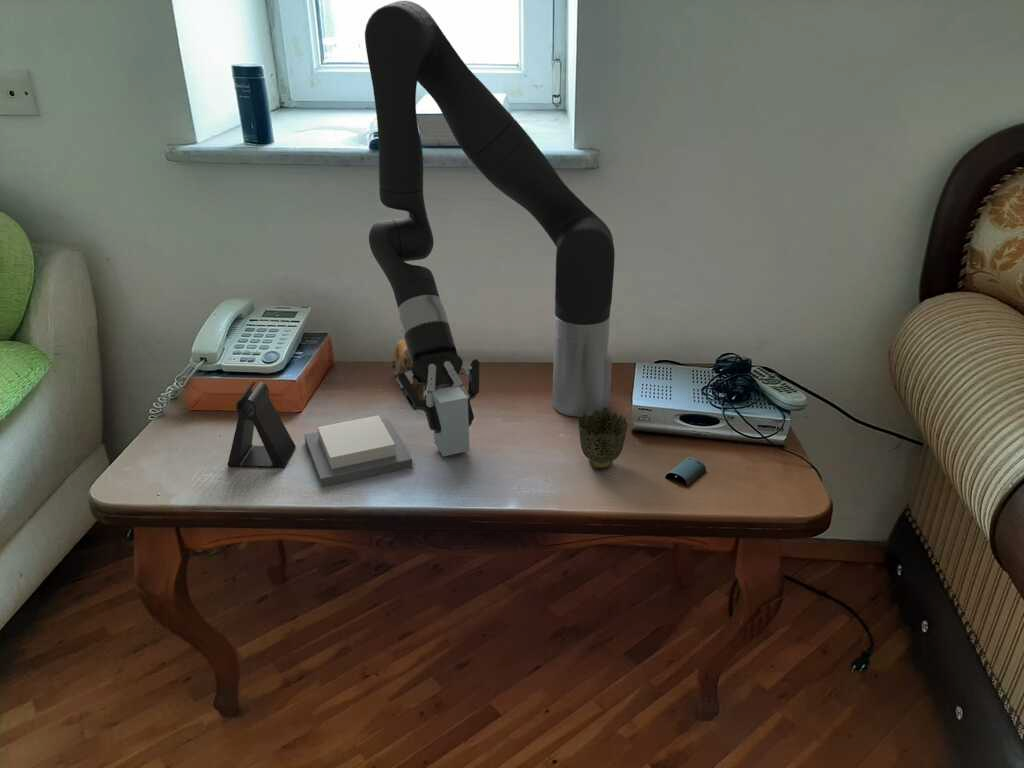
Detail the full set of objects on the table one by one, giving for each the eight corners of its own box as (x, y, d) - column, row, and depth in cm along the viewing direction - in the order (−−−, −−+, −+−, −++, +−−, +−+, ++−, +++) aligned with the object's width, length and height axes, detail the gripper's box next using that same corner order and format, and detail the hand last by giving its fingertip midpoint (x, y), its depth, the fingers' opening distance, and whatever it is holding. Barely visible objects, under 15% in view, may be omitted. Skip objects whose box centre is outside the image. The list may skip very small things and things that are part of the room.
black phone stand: (296, 448, 126) (286, 381, 121) (285, 468, 121) (274, 400, 116) (241, 447, 127) (229, 380, 121) (227, 467, 121) (214, 398, 116)
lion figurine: (441, 389, 145) (439, 345, 141) (416, 397, 142) (413, 352, 138) (404, 361, 156) (401, 319, 152) (379, 368, 153) (376, 325, 149)
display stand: (388, 425, 133) (387, 407, 131) (412, 467, 121) (411, 447, 120) (305, 442, 128) (302, 423, 126) (321, 487, 117) (319, 467, 115)
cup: (593, 483, 117) (595, 437, 114) (567, 460, 123) (569, 415, 120) (634, 471, 121) (637, 425, 117) (607, 448, 126) (610, 405, 123)
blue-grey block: (460, 437, 128) (458, 385, 124) (469, 450, 124) (467, 397, 120) (434, 443, 126) (431, 390, 122) (443, 456, 123) (440, 403, 118)
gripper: (386, 326, 121) (413, 431, 116) (472, 312, 126) (502, 412, 121) (380, 345, 128) (406, 444, 123) (462, 331, 133) (490, 426, 128)
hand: (453, 428), depth 122 cm, fingers closed on blue-grey block, 4 cm apart
